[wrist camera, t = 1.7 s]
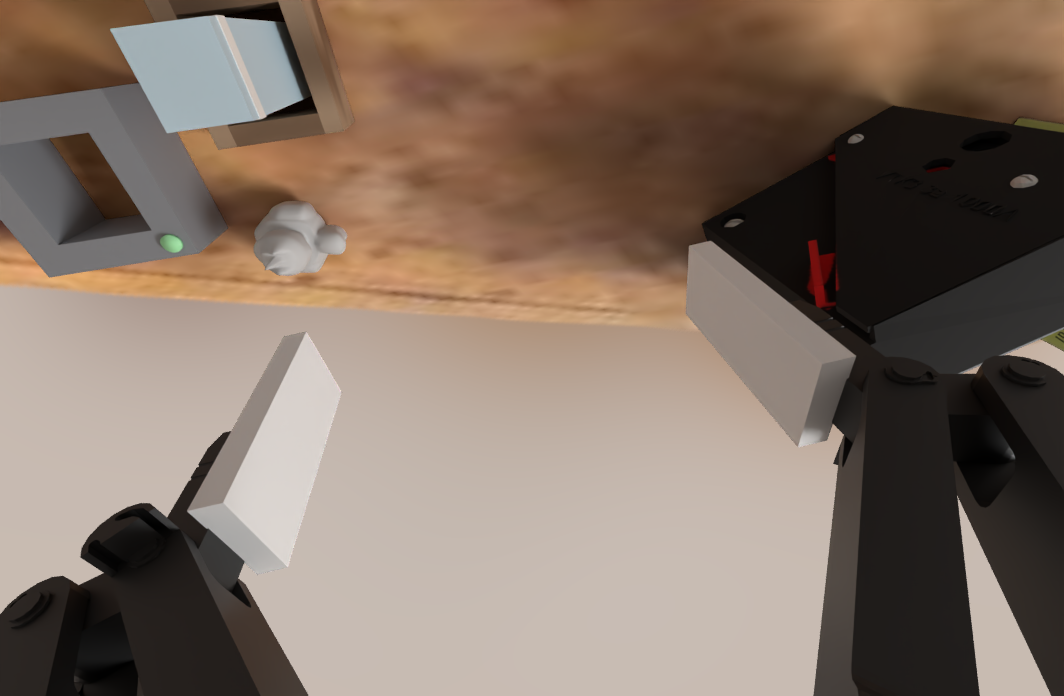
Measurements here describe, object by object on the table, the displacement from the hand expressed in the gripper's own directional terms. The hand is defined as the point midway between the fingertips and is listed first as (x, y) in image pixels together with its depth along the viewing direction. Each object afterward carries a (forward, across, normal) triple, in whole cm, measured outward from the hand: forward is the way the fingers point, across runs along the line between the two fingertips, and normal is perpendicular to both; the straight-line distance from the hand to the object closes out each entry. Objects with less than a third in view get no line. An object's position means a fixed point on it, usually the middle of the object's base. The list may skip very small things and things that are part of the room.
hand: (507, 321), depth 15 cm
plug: (+24, -12, +9) cm, 28 cm away
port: (+24, -25, +4) cm, 35 cm away
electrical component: (+24, +28, -10) cm, 39 cm away
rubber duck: (+24, -14, -2) cm, 28 cm away
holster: (+24, -12, +9) cm, 28 cm away
